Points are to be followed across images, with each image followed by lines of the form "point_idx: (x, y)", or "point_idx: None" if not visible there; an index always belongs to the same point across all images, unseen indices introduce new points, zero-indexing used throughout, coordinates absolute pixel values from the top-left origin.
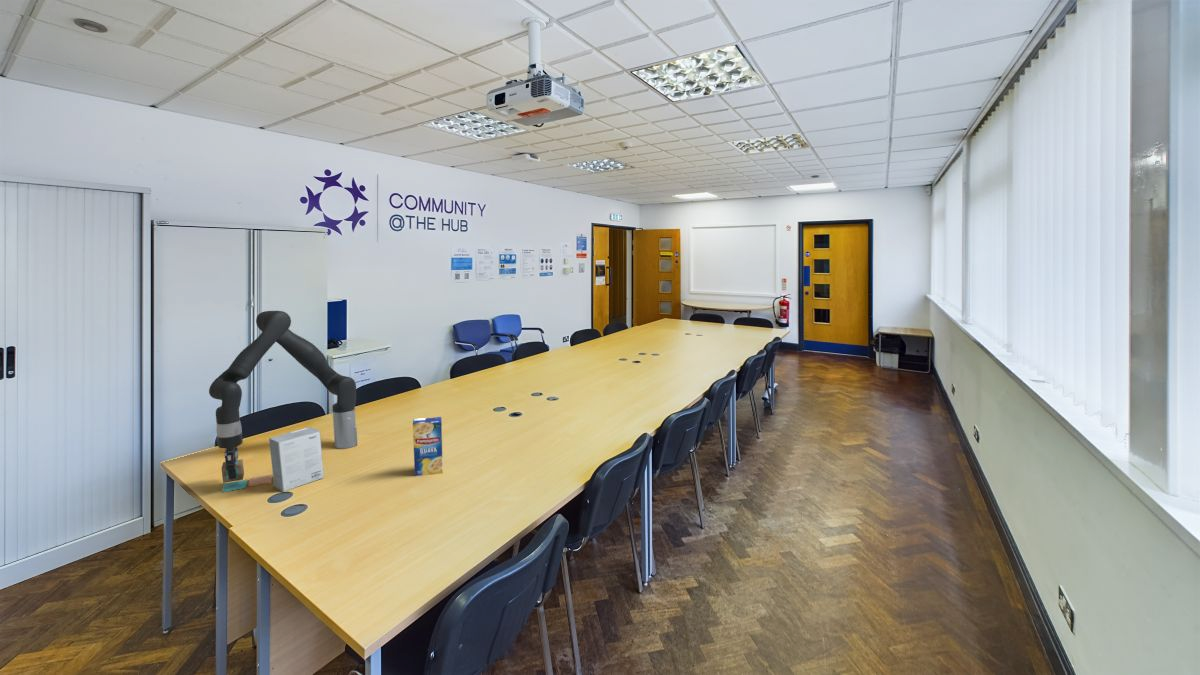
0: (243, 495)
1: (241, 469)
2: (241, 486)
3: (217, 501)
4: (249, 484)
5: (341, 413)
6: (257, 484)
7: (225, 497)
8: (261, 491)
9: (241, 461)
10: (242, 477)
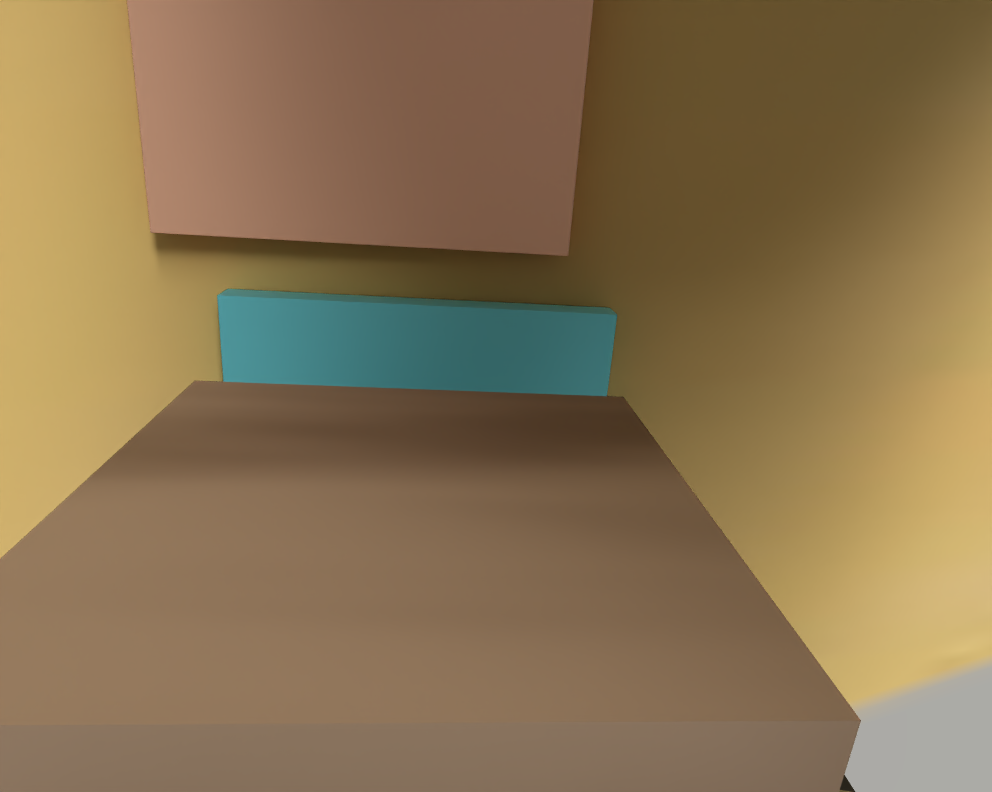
0: (928, 329)
1: (731, 562)
2: (559, 377)
3: (880, 641)
4: (544, 241)
5: None
6: (580, 86)
7: (807, 563)
8: (984, 18)
9: (279, 752)
10: (639, 421)
